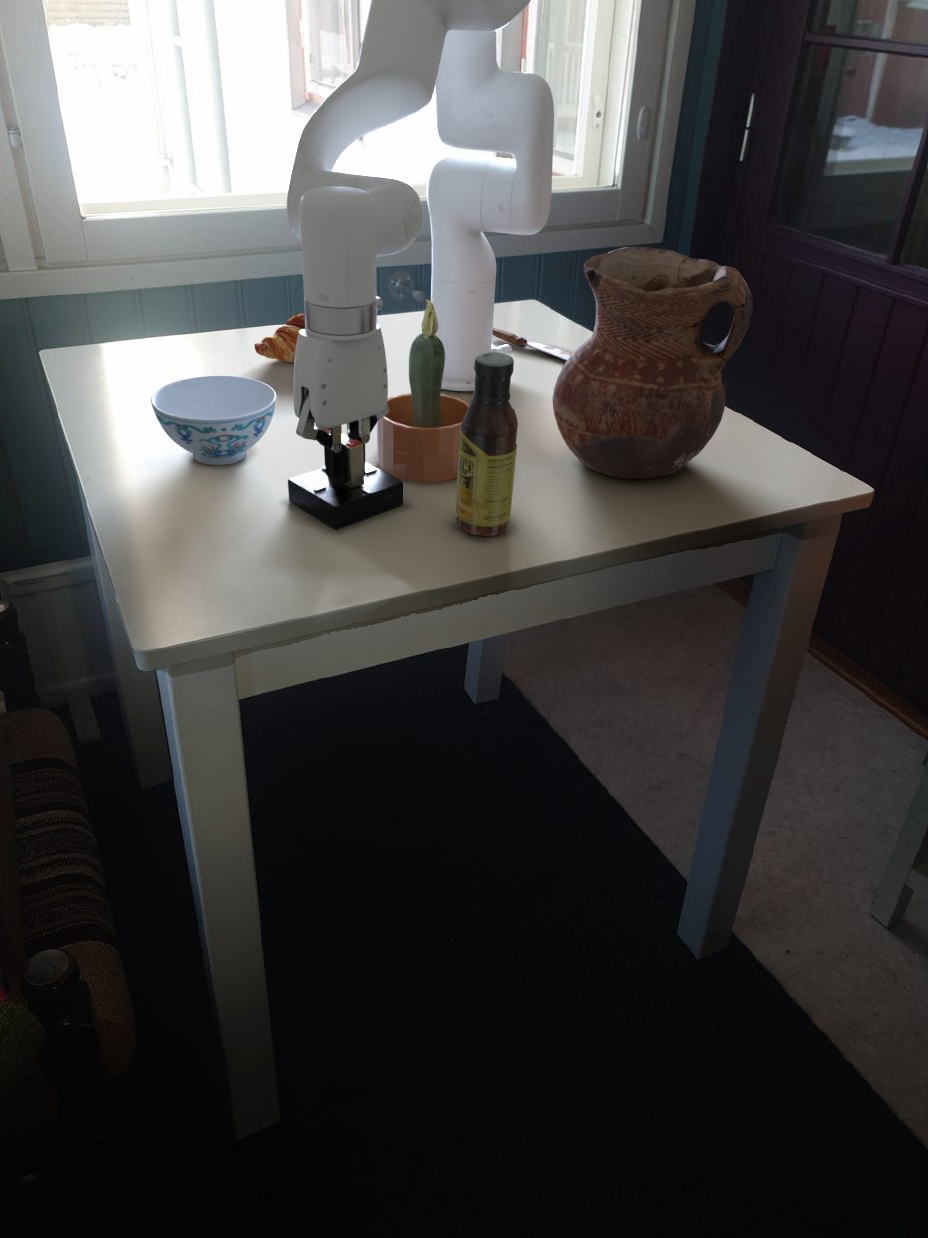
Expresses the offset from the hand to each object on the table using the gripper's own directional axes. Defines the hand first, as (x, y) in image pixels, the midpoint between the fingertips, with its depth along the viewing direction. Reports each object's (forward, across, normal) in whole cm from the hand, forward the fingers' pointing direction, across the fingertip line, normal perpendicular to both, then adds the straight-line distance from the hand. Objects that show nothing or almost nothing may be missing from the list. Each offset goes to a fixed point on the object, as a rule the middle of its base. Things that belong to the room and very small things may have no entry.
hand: (345, 475), depth 111 cm
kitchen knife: (+4, -61, -24) cm, 65 cm away
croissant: (+4, -29, -45) cm, 54 cm away
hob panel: (+4, 0, 0) cm, 4 cm away
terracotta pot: (+4, -15, -3) cm, 16 cm away
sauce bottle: (+4, -8, +14) cm, 17 cm away
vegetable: (+4, -15, -3) cm, 16 cm away
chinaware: (+4, +4, -21) cm, 22 cm away
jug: (+4, -37, +13) cm, 39 cm away
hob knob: (+1, 0, 0) cm, 1 cm away
